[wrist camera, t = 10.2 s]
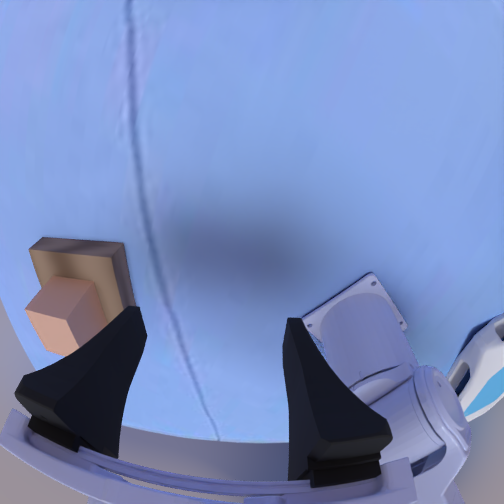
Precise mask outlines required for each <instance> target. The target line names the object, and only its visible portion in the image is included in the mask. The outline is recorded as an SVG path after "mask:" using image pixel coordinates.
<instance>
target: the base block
mask: <svg viewBox="0 0 504 504" xmlns="http://www.w3.org/2000/svg"><path fill="white" fill-rule="evenodd" d="M29 253H30V256H31V259H32V262H33V265H34V268H35V271H36V274H37V277H38V279H39V282H40V285H41V287H42V288H43V286H44V285H45V284H46V283H47V282H48V281H49V280H50V278H51V277H52V276H59V277H65V278H72V279H80V280H87V281H94V284H95V288H96V291H97V294H98V297H99V301H100V304H101V307H102V310H103V312H104V315H105V318H106V321H107V325H108V324H109V323H110V322H111V321H112V320H113V319H114V318H115V317H116V316H117V315H119V314H120V313H121V312H122V311H123V310H124V309H125V308H126V307H127V306H136V303H135V299H134V295H133V290H132V286H131V281H130V276H129V271H128V266H127V261H126V255H125V249H124V243H119V242H104V241H90V240H76V239H62V238H48V237H42V238H41V239H40V240H39V241H38V242H36V243H35V244H34V245H33V246H32V247H31V248H29Z"/></svg>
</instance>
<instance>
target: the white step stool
mask: <svg viewBox="0 0 504 504" xmlns="http://www.w3.org/2000/svg"><path fill="white" fill-rule="evenodd" d="M503 337H504V313H503V314H501V315H498V316H496V317H494V318H493V319H492V320H491V321H490V322H489V323H488V324H487V325H486V326H485V327H484V328H482V329H481V330H480V331H479V332H478V333H477V334H475V335H474V337H473V338H472V339H471V341H470V342H469V343H468V345H467V346H466V347H465V348H464V350H463V351H462V352H461V353H460V354H459V356H458V357H457V358H456V359H455V361H454V363H453V365H452V367H451V369H450V371H449V373H448V374H447V376H446V378H447V380H448V381H449V383H450V384H451V386H452V387H453V389H454V391H455V390H456V389H457V387H458V385H459V384H460V382H461V381H462V379H463V378H464V376H465V374H466V373H467V371H468V370H469V368H470V377H471V378H470V379H469V381H468V383H467V384H466V386H465V388H464V389H463V391H462V392H461V393H460V394H457V397H458V399H459V401H460V403H461V406H462V409H463V412H464V416H465V418H466V420H467V422H469V421H471V420H473V419H475V418H477V417H478V416H480V415H482V414H484V413H485V412H487V411H488V410H489V409H490V408H491V407H493V406H494V405H495V404H496V403H497V402H498V401H499V400H500V399H502V398H503V397H504V341H502V340H501V339H502V338H503Z"/></svg>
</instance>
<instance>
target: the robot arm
mask: <svg viewBox="0 0 504 504" xmlns="http://www.w3.org/2000/svg"><path fill="white" fill-rule="evenodd" d="M373 281H375V282H374V283H372V282H373ZM371 283H372V284H371ZM308 324H310V325H308ZM407 326H408V325H407V323H406V322H405V320H404V318H403V317H402V315H401V314H400V312H399V310H398V309H397V307H396V306H395V304H394V303H393V301H392V300H391V298H390V296H389V295H388V293H387V292H386V290H385V289H384V287H383V286H382V284H381V283H380V282H379V280H378V279H377V277H376V276H375V274H373V273H370V274H368V275H366V276H365V277H363V278H362V279H361V280H359V281H358V282H356V283H355V284H353V285H352V286H351V287H349V288H348V289H346V290H345V291H343V292H342V293H340V294H339V295H337V296H336V297H334V298H333V299H331V300H330V301H328V302H327V303H325V304H324V305H322V306H321V307H319V308H318V309H316V310H314V311H313V312H311V313H310V314H308V315H307V316H305V317H303V318H302V319H301V318H288V319H287V324H286V330H285V335H284V341H283V346H282V347H283V369H284V377H285V384H286V391H287V398H288V407H289V467H288V481H274V482H273V481H272V482H271V481H270V482H259V481H257V482H256V481H233V480H220V479H210V478H202V477H194V476H188V475H181V474H176V473H171V472H165V471H161V470H156V469H152V468H148V467H144V466H140V465H136V464H132V463H129V462H125V461H122V460H119V459H118V453H119V439H120V431H121V423H122V418H123V412H124V407H125V403H126V398H127V394H128V391H129V388H130V385H131V382H132V380H133V377H134V375H135V372H136V369H137V367H138V364H139V362H140V359H141V357H142V354H143V351H144V347H145V343H146V339H147V333H146V329H145V326H144V322H143V319H142V315H141V311H140V307H137V306H127V307H126V308H125V309H124V310H123V311H122V312H121V313H120V314H119V315H117V316H116V317H115V318H114V319H113V320H112V321H111V322H110V323H109V324H108V325H107V326H105V327H104V328H103V329H102V330H101V331H100V332H99V333H97V334H96V335H95V336H94V337H93V338H91V339H90V340H89V341H88V342H87V343H85V344H84V345H83V346H81V347H80V348H78V349H77V350H76V351H74V352H73V353H71V354H69V355H68V356H66V357H64V358H63V359H61V360H59V361H58V362H56V363H54V364H52V365H50V366H47V367H45V368H43V369H41V370H38V371H35V372H33V373H30V374H27V375H24V376H23V378H22V380H21V382H20V383H19V385H18V387H17V389H16V391H15V397H16V398H17V400H18V401H19V402H20V403H21V404H22V405H23V406H24V407H25V408H26V409H27V411H29V413H31V414H32V417H31V419H30V418H28V417H27V416H25V415H24V414H22V413H20V412H18V411H17V410H15V409H12V410H11V412H10V414H9V416H8V418H7V421H6V423H5V425H4V427H3V429H2V432H1V434H0V445H1V446H2V447H4V448H5V449H6V450H8V451H9V452H10V453H12V454H13V455H15V456H16V457H18V458H19V459H20V460H22V461H23V462H25V463H27V464H28V465H30V466H31V467H33V468H35V469H36V470H38V471H40V472H41V473H43V474H45V475H46V476H48V477H50V478H52V479H54V480H55V481H57V482H60V483H61V484H63V485H65V486H67V487H69V488H71V489H74V490H75V491H78V492H80V493H82V494H84V495H87V496H89V497H88V502H87V504H465V502H464V500H463V498H462V496H461V494H460V492H459V490H458V488H457V486H456V484H455V482H454V480H453V479H454V478H455V476H456V475H457V473H458V472H459V470H460V468H461V467H462V466H463V464H464V463H465V461H466V459H467V457H468V455H469V452H470V448H471V429H470V426H469V424H468V422H467V420H466V418H465V416H464V412H463V409H462V406H461V403H460V401H459V399H458V397H457V395H456V393H455V391H454V389H453V387H452V386H451V384H450V383H449V381H448V380H447V378H446V377H445V376H444V375H443V374H442V373H441V372H440V371H439V370H438V369H437V368H435V367H429V366H427V365H423V366H421V367H419V364H418V362H417V360H416V358H415V356H414V353H413V351H412V349H411V347H410V345H409V343H408V341H407V339H406V337H405V335H404V332H403V331H404V330H405V329H406V328H407ZM307 330H308V331H309V332H311V333H312V334H313V335H314V336H315V337H316V338H317V339H319V340H320V341H321V342H322V343H323V346H324V350H325V355H326V360H327V362H326V360H325V359H324V357H323V356H322V354H321V353H320V351H319V350H318V348H317V346H316V345H315V343H314V341H313V340H312V338H311V336H310V334H309V332H308V331H307ZM104 469H105V470H104ZM109 471H110V472H109ZM111 472H113V473H111ZM114 473H116V474H120V475H123V476H126V477H129V478H133V479H136V480H140V481H144V482H148V483H152V484H156V485H161V486H165V487H170V488H175V489H181V490H187V491H193V492H201V493H208V494H218V495H230V496H250V497H246V498H244V503H234V502H224V501H216V500H209V499H202V498H196V497H191V496H185V495H180V494H174V493H170V492H165V491H160V490H156V489H151V488H147V487H143V486H139V485H135V484H132V483H130V482H128V481H126V480H124V479H123V478H122V477H121V476H118V475H116V474H114Z"/></svg>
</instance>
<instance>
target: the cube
mask: <svg viewBox="0 0 504 504" xmlns="http://www.w3.org/2000/svg"><path fill="white" fill-rule="evenodd" d="M25 311H26V313H27V315H28V317H29V319H30V321H31V323H32V325H33V327H34V329H35V331H36V333H37V334H38V336H39V338H40V340H41V342H42V343H43V345H44V347H45V348H46V350H47V351H50V352H53V353H56V354H59V355H62V356H65V357H66V356H68V355H69V354H71V353H73V352H74V351H76V350H77V349H78V348H80V347H81V346H83V345H84V344H85V343H87V342H88V341H89V340H90V339H91V338H93V337H94V336H95V335H96V334H97V333H99V332H100V331H101V330H102V329H103V328H104V327H105V326H107V321H106V318H105V315H104V312H103V310H102V307H101V304H100V301H99V297H98V294H97V291H96V288H95V284H94V281H87V280H80V279H72V278H65V277H59V276H52V277H51V278H50V280H49V281H48V282H47V283H46V284H45V285H44V286H43V288H42V289H41V290H40V291H39V292H38V293H37V295H36V296H35V297H34V298H33V299H32V301H31V302H30V303H29V304H28V305H27V307H26V308H25Z"/></svg>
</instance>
